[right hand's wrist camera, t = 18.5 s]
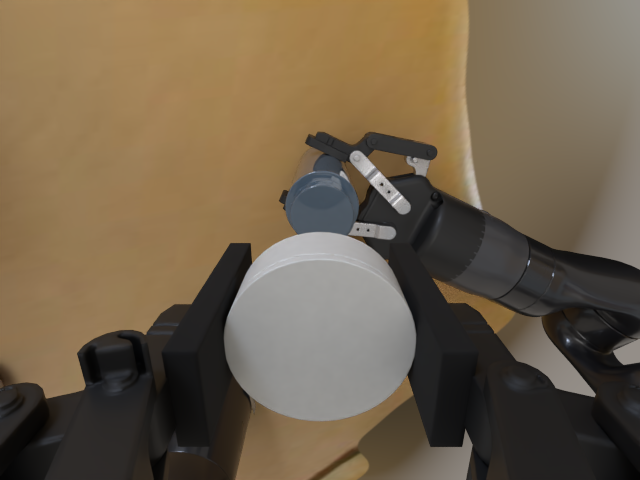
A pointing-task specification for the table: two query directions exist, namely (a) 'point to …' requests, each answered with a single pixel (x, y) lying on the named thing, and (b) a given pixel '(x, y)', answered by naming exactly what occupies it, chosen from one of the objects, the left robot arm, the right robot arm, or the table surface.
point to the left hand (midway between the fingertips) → (294, 168)
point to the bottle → (321, 196)
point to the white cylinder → (320, 328)
